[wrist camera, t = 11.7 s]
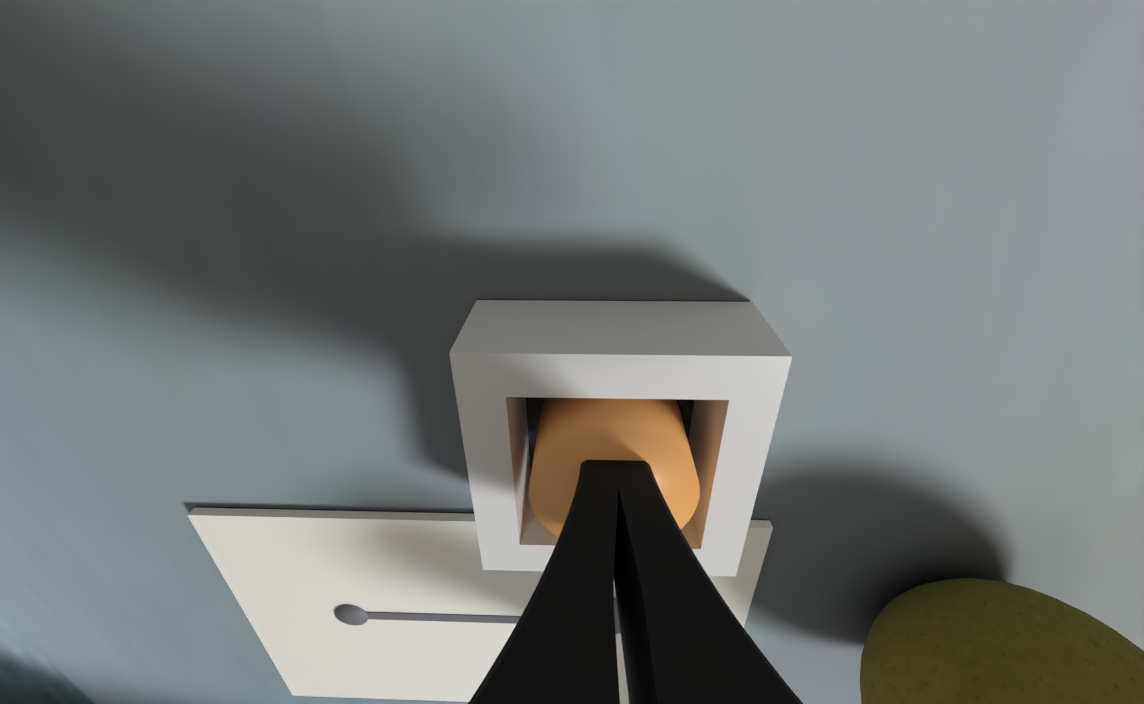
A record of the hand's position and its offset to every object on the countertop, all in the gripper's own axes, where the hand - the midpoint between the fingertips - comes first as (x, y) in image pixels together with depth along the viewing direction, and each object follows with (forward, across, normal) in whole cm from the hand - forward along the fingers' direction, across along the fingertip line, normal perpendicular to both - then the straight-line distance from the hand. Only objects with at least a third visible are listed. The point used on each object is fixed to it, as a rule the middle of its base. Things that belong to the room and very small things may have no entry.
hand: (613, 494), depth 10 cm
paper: (+3, +4, +10) cm, 11 cm away
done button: (+2, 0, 0) cm, 2 cm away
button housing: (+3, 0, 0) cm, 3 cm away
